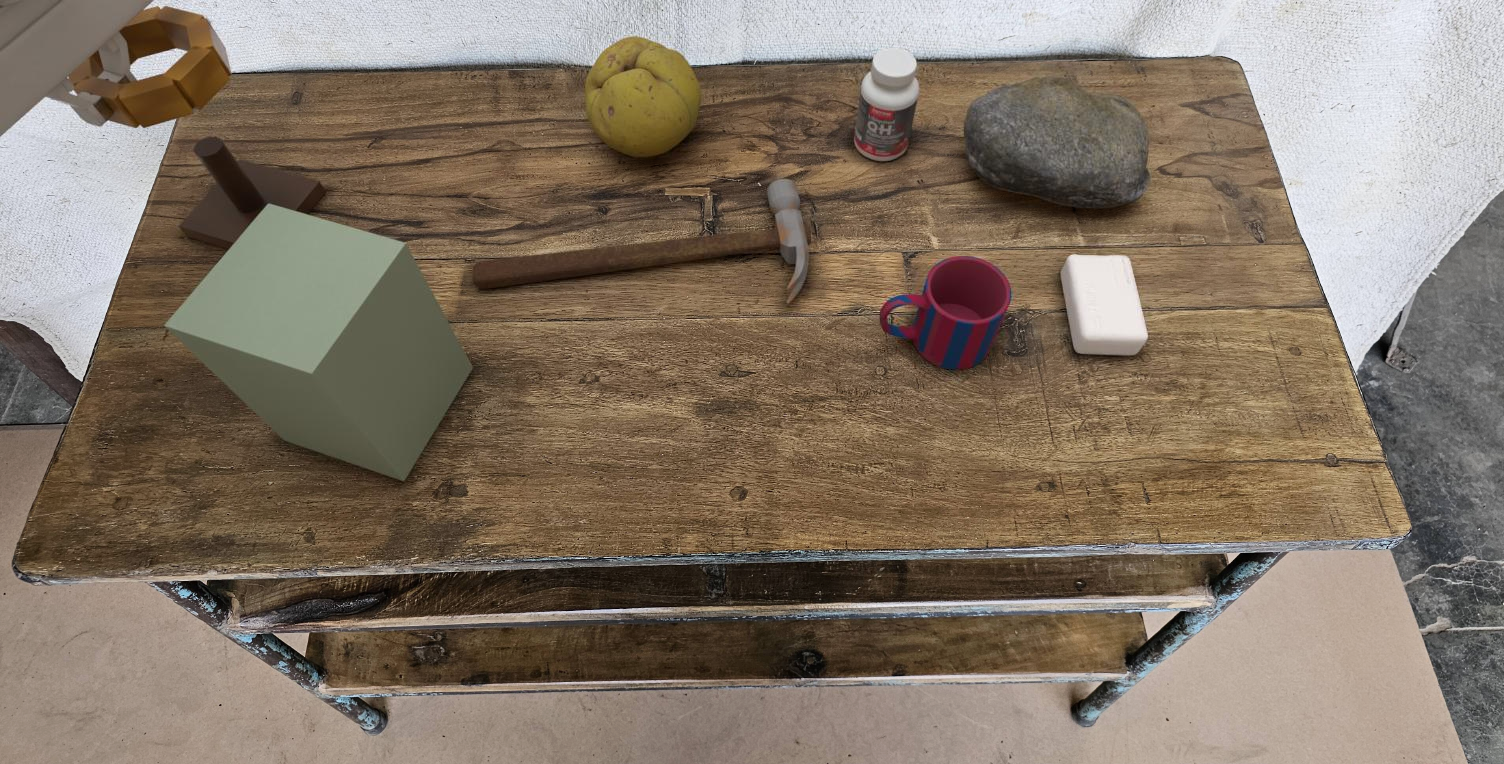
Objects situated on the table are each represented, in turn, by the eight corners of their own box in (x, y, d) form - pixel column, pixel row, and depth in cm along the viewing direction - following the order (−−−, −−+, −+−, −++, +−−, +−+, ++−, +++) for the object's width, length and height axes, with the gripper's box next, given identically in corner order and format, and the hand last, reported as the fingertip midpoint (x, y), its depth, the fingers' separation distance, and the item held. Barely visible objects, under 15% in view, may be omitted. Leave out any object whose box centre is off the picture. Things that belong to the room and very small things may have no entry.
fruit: (701, 96, 88) (696, 11, 79) (707, 180, 82) (701, 97, 73) (594, 102, 88) (576, 17, 79) (591, 186, 82) (572, 104, 73)
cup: (996, 370, 71) (1017, 323, 65) (876, 370, 71) (886, 323, 65) (985, 305, 74) (1004, 255, 68) (870, 305, 74) (880, 255, 68)
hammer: (471, 216, 77) (799, 176, 78) (481, 237, 79) (799, 198, 81) (467, 330, 70) (824, 284, 72) (477, 348, 73) (823, 304, 74)
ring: (172, 139, 63) (149, 109, 61) (62, 108, 65) (36, 78, 63) (256, 54, 68) (238, 23, 66) (152, 27, 70) (131, -4, 68)
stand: (269, 262, 77) (218, 196, 70) (187, 237, 79) (128, 170, 71) (326, 192, 81) (284, 123, 74) (247, 169, 83) (198, 100, 76)
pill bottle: (861, 167, 83) (873, 85, 74) (847, 129, 85) (857, 46, 77) (915, 159, 83) (932, 76, 75) (899, 121, 86) (914, 38, 78)
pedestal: (404, 481, 66) (311, 373, 52) (283, 440, 68) (163, 325, 54) (473, 367, 71) (406, 242, 57) (359, 332, 73) (268, 202, 59)
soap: (1138, 359, 71) (1152, 338, 69) (1072, 356, 71) (1084, 336, 69) (1119, 274, 76) (1131, 252, 73) (1057, 272, 76) (1067, 250, 73)
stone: (1098, 138, 87) (1147, 54, 79) (1139, 233, 80) (1197, 151, 72) (941, 131, 85) (975, 43, 77) (969, 227, 78) (1010, 142, 69)
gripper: (50, -167, 57) (171, 14, 69) (-216, 15, 48) (-22, 190, 60) (126, -151, 56) (236, 30, 68) (-130, 39, 47) (50, 212, 58)
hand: (114, 106), depth 64 cm, fingers closed on ring
